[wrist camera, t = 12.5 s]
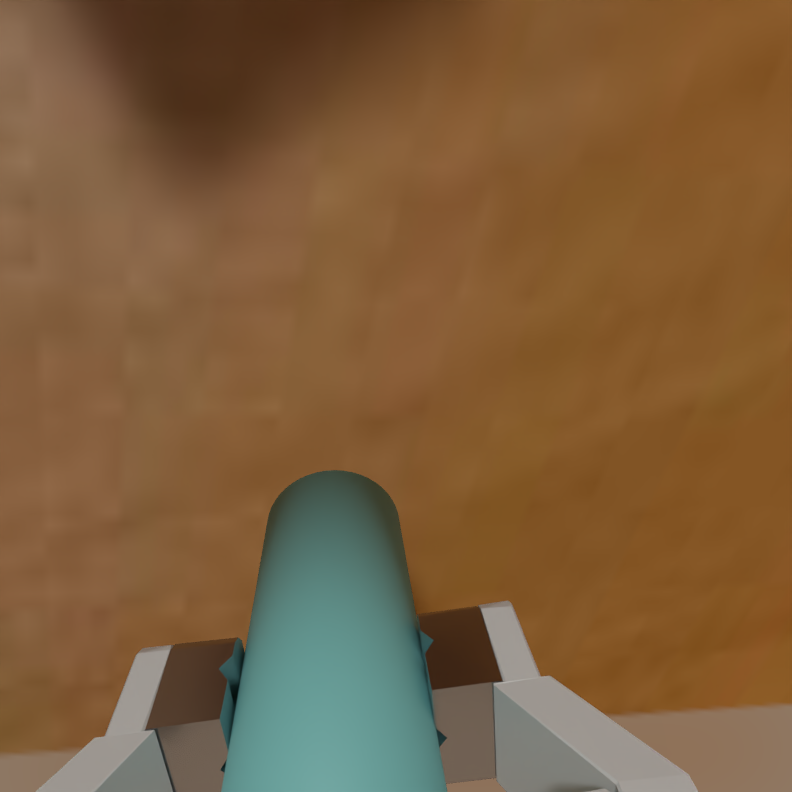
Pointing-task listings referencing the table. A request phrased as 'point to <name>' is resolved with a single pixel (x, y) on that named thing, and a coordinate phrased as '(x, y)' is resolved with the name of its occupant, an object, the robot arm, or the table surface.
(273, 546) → the dowel
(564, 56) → the table surface
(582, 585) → the table surface
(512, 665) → the robot arm
